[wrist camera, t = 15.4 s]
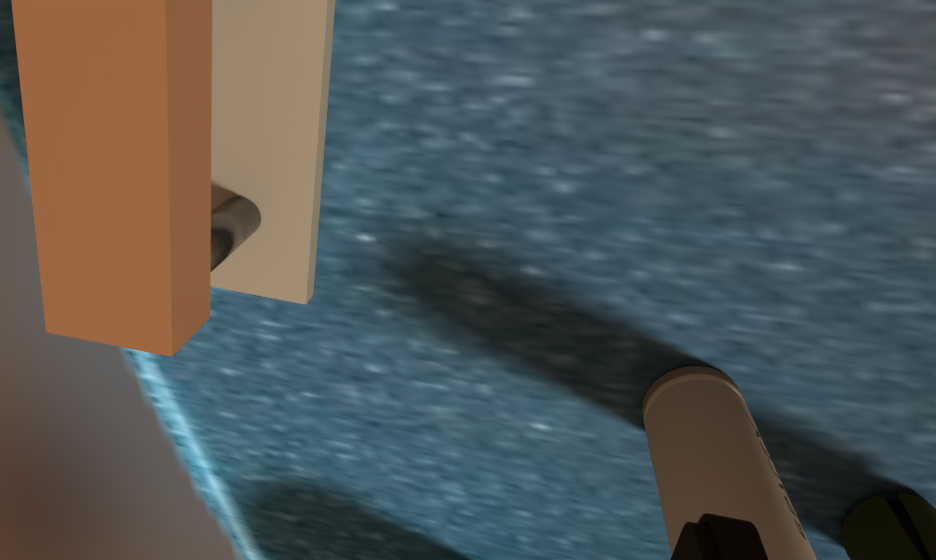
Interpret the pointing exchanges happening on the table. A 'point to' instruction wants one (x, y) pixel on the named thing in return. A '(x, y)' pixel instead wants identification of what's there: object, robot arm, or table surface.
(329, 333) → the table surface
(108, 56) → the shelf board
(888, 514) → the character mug
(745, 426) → the travel mug
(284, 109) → the peg base
